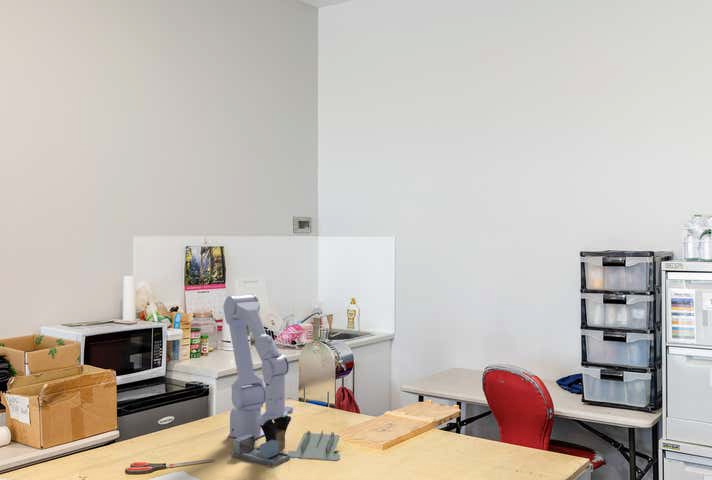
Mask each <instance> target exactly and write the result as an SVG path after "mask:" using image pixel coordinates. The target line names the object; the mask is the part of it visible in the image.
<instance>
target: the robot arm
mask: <svg viewBox="0 0 712 480" xmlns="http://www.w3.org/2000/svg"><path fill="white" fill-rule="evenodd" d="M260 308H261V305H260V301H259V298H258V297H257V295H256V294H254V293H253V294H247V295H246V294H245V295H234V296H232V295H228V296H227V297H226V298H225V300H224V303H223V313H224V319H225V323H226V324H227V325H228V327H229V333H230V339H231V342H232V343H231V345H232V350H233V356H234V361H235V366H236V373H237V379H236V380H235V381H234V382H233V383H232V385H231V402H232V403H231V404H232V405H233V407H232V409H231V411H230V414H229V433H228V434H227V436H228V437H231V438H234V439H236V438H239V437H241V436H244V435H246V434H251V435H254V440H256V439H258V438H261V437H263V436H264V437H265V442H268V441H270V440H275V432H276V429H280V430H285V434H286V433H287V429H288V426H289V424H290V422H291V421H292V417H291V414H293V412H294V407H293V406H286V388H285V387H286V382H285V381H286V379H285V377H286V375H287V374H288V373H289V369H290V364H289V360H288V357H287V356H285V355H283V354H282V352H280V351H279V350H278V348H277V345H276V343H275V341H274V339H273V337H272V335H268V334H267V332H266V330H265V327H264V324H263V321H262V318H261V315H260V314H259V313H260ZM247 327H248V328H249V330H250V333H252V335H253V337H254V339H255V341H254V343H253V344H254V347H255V349H256V352H257V355H258V356H259V358H260V361H261V367H260V369H261V370H260V371H261V374H262V376H263V378H260V377H259V376H258V375H256V374H255V371H254V363H253V359H252V358H253V357H252V353H251V352H252V351H251V347H250V343H249V342H250V341H249V336H248V331H247ZM264 383H265V386H264ZM264 404H265V412H263V413H262V408H263V407H264ZM289 415H290V416H289Z"/></svg>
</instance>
